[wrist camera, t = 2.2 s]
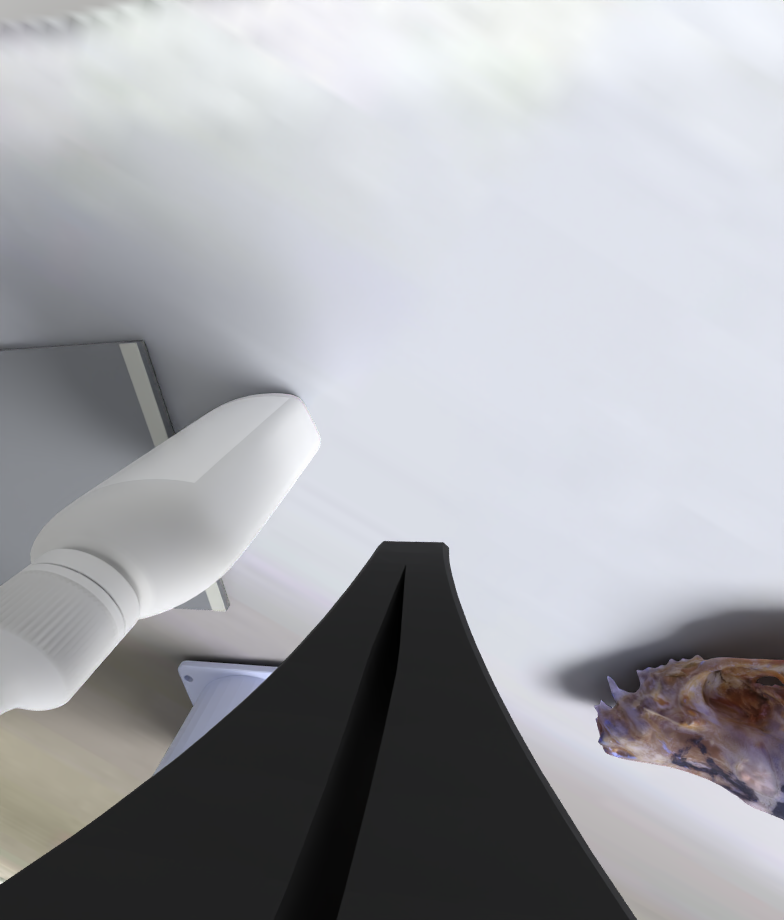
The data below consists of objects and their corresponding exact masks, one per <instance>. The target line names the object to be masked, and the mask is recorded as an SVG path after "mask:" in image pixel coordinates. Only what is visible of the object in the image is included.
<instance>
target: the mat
mask: <svg viewBox="0 0 784 920" xmlns="http://www.w3.org/2000/svg"><path fill="white" fill-rule="evenodd" d="M173 435H174V432H173V429H172V426H171V423H170V419H169V416H168V413H167V410H166V407H165V404H164V401H163V398H162V395H161V392H160V389H159V386H158V383H157V380H156V377H155V373H154V370H153V367H152V364H151V361H150V358H149V355H148V352H147V349H146V346H145V343H144V341H129V342H114V343H98V344H83V345H68V346H53V347H38V348H23V349H8V350H0V586H1V585H3V584H4V583H5V582H7V581H8V580H9V579H11V578H12V577H13V576H15V575H16V574H18V573H19V572H20V571H22V570H23V569H24V568H26V567H27V566H28V565H30V564H31V556H30V553H31V549H32V546H33V543H34V541H35V539H36V538H37V536H38V534H39V533H40V531H41V530H42V529H43V527H44V526H45V525H46V524H47V523H48V522H49V521H50V520H51V519H52V518H53V517H54V516H55V515H56V514H57V513H59V512H60V511H61V510H62V509H64V508H65V507H67V506H68V505H69V504H71V503H72V502H74V501H75V500H76V499H78V498H79V497H81V496H82V495H84V494H85V493H87V492H88V491H90V490H91V489H93V488H94V487H96V486H97V485H99V484H100V483H102V482H103V481H105V480H107V479H108V478H110V477H111V476H113V475H114V474H116V473H117V472H119V471H120V470H122V469H123V468H125V467H126V466H128V465H129V464H131V463H132V462H134V461H135V460H137V459H138V458H140V457H141V456H143V455H145V454H146V453H148V452H149V451H151V450H152V449H154V448H155V447H157V446H158V445H160V444H161V443H163V442H164V441H166V440H167V439H169V438H170V437H172V436H173ZM229 606H230V604H229V601H228V597H227V594H226V591H225V588H224V585H223V582H222V579H221V578H220V579H218V580H217V581H216V582H215V583H214V584H212V585H211V586H210V587H209V588H207V589H206V590H204V591H203V592H201V593H200V594H198V595H197V596H195V597H194V598H192V599H190V600H188V601H187V602H185V603H183V604H181V605H179V606H177V607H174V608H176V609H196V610H212V611H223V612H226V610H227V609H228V607H229Z"/></svg>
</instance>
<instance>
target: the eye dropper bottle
mask: <svg viewBox="0 0 784 920" xmlns="http://www.w3.org/2000/svg"><path fill="white" fill-rule="evenodd" d="M320 445H321V438H320V434H319V432H318V430H317V427H316V425H315V423H314V421H313V419H312V417H311V415H310V413H309V411H308V409H307V407H306V406H305V404H304V403H303V401H302V400H301V399H300V398H299V397H296V396H294V395H291V394H282V393H266V394H256V395H250V396H245V397H242V398H238V399H235V400H232V401H230V402H227V403H225V404H223V405H221V406H219V407H217V408H215V409H214V410H212V411H210V412H209V413H207V414H205V415H204V416H202V417H201V418H199V419H198V420H196V421H195V422H193V423H192V424H190V425H189V426H187V427H186V428H184V429H183V430H181V431H180V432H178V433H176V434H175V435H173V436H172V437H170V438H169V439H167V440H166V441H164V442H163V443H161V444H160V445H158V446H157V447H155V448H154V449H152V450H151V451H149V452H148V453H146V454H145V455H143V456H141V457H140V458H138V459H137V460H135V461H134V462H132V463H131V464H129V465H128V466H126V467H125V468H123V469H122V470H120V471H119V472H117V473H116V474H114V475H113V476H111V477H110V478H108V479H107V480H105V481H103V482H102V483H100V484H99V485H97V486H96V487H94V488H93V489H91V490H90V491H88V492H87V493H85V494H84V495H82V496H81V497H79V498H78V499H76V500H75V501H74V502H72V503H71V504H69V505H68V506H67V507H65V508H64V509H62V510H61V511H60V512H59V513H57V514H56V515H55V516H54V517H53V518H52V519H51V520H50V521H49V522H48V523H47V524H46V525H45V526H44V527H43V529H42V530H41V531H40V533H39V534H38V536H37V538H36V539H35V541H34V543H33V546H32V549H31V553H30V556H31V564H30V565H28V566H27V567H26V568H24V569H23V570H22V571H20V572H19V573H18V574H16V575H15V576H13V577H12V578H11V579H9V580H8V581H7V582H5V583H4V584H3V585H1V586H0V715H2V714H3V713H4V712H7V711H9V710H12V709H14V708H21V709H27V710H35V711H42V710H50V709H54V708H57V707H60V706H63V704H66V703H67V702H68V701H69V700H70V699H71V698H72V697H73V695H74V694H75V693H76V692H77V691H78V690H79V688H80V687H81V686H82V685H83V684H84V683H85V682H86V680H87V679H88V678H89V677H90V676H91V675H92V673H93V672H94V671H95V670H96V669H97V668H98V667H99V665H100V664H101V663H102V662H103V661H104V660H105V658H106V657H107V656H108V655H109V654H110V653H111V652H112V650H113V649H114V648H115V647H116V646H117V645H118V643H119V642H120V641H121V640H122V639H123V638H124V637H125V635H126V634H127V633H128V632H129V631H130V630H131V628H132V627H133V626H134V625H135V624H136V622H137V621H138V620H139V619H144V618H147V617H151V616H154V615H157V614H160V613H162V612H165V611H168V610H170V609H172V608H174V607H177V606H179V605H181V604H183V603H185V602H187V601H188V600H190V599H192V598H194V597H195V596H197V595H198V594H200V593H201V592H203V591H204V590H206V589H207V588H209V587H210V586H211V585H212V584H214V583H215V582H216V581H217V580H218V579H220V578H221V577H222V576H223V575H224V574H225V573H226V572H227V571H228V570H229V569H230V568H231V567H232V566H233V565H234V564H235V562H236V561H237V560H238V559H239V558H240V557H241V556H242V554H243V553H244V552H245V550H246V549H247V548H248V546H249V545H250V544H251V542H252V541H253V540H254V539H255V537H256V536H257V535H258V533H259V532H260V531H261V529H262V528H263V526H264V525H265V524H266V522H267V521H268V520H269V518H270V517H271V515H272V514H273V513H274V511H275V510H276V508H277V507H278V506H279V504H280V503H281V502H282V500H283V499H284V497H285V496H286V495H287V493H288V492H289V490H290V489H291V488H292V486H293V485H294V483H295V482H296V481H297V479H298V478H299V476H300V475H301V474H302V472H303V471H304V469H305V468H306V467H307V465H308V464H309V462H310V461H311V460H312V458H313V457H314V455H315V454H316V452H317V451H318V449H319V447H320Z"/></svg>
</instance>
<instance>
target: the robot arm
mask: <svg viewBox="0 0 784 920" xmlns="http://www.w3.org/2000/svg"><path fill="white" fill-rule="evenodd" d="M178 672H179V674H180V677H181V679H182V681H183V684H184V686H185V688H186V691H187V693H188V695H189V698H190V700H191V702H192V705H193V707H192V709H191V711H190V713H189V714H188V716H187V718H186V719H185V721H184V723H183V724H182V726H181V728H180V730H179V731H178V733H177V735H176V736H175V738H174V740H173V742H172V743H171V745H170V747H169V748H168V750H167V752H166V753H165V755H164V757H163V759H162V760H161V762H160V764H159V765H158V767H157V769H156V771H155V772H154V774H153V776H152V777H151V778H150V779H148V780H147V781H146V782H144V783H143V784H142V785H140V786H139V787H138V788H136V789H135V790H134V791H132V792H131V793H130V794H129V795H127V796H126V797H125V798H123V799H122V800H121V801H119V802H118V803H117V804H115V805H114V806H113V807H111V808H110V809H109V810H108V811H106V812H105V813H103V814H102V815H101V816H99V817H98V818H97V819H95V820H94V821H92V822H91V823H90V824H88V825H87V826H86V827H84V828H83V829H81V830H80V831H79V832H77V833H76V834H74V835H73V836H72V837H70V838H69V839H67V840H66V841H64V842H63V843H61V844H60V845H58V846H57V847H55V848H54V849H52V850H51V851H49V852H48V853H46V854H45V855H43V856H42V857H41V858H39V859H38V860H36V861H35V862H33V863H32V864H30V865H29V866H27V867H26V868H24V869H23V870H21V871H20V872H18V873H17V874H15V875H14V876H12V877H11V878H9V879H8V880H6V881H5V882H3V883H2V884H0V920H637V919H636V917H635V916H634V914H633V913H632V911H631V910H630V908H629V907H628V905H627V904H626V902H625V901H624V899H623V898H622V896H621V895H620V893H619V892H618V890H617V889H616V888H615V886H614V885H613V883H612V882H611V880H610V879H609V877H608V876H607V874H606V873H605V871H604V870H603V868H602V867H601V865H600V864H599V862H598V861H597V859H596V858H595V856H594V855H593V853H592V852H591V850H590V848H589V847H588V845H587V844H586V842H585V840H584V839H583V837H582V836H581V834H580V832H579V831H578V829H577V828H576V826H575V824H574V823H573V821H572V820H571V818H570V816H569V815H568V813H567V811H566V810H565V808H564V807H563V805H562V803H561V802H560V800H559V799H558V797H557V795H556V794H555V792H554V791H553V789H552V787H551V786H550V784H549V783H548V781H547V779H546V778H545V776H544V775H543V773H542V771H541V770H540V768H539V766H538V765H537V763H536V761H535V759H534V757H533V756H532V754H531V752H530V750H529V749H528V747H527V745H526V743H525V742H524V740H523V738H522V736H521V734H520V733H519V731H518V729H517V727H516V725H515V724H514V722H513V720H512V718H511V716H510V714H509V712H508V710H507V708H506V706H505V705H504V703H503V701H502V699H501V697H500V695H499V693H498V691H497V689H496V687H495V685H494V683H493V681H492V679H491V676H490V674H489V672H488V670H487V668H486V666H485V663H484V661H483V659H482V657H481V654H480V652H479V650H478V648H477V646H476V643H475V641H474V638H473V636H472V633H471V631H470V628H469V626H468V623H467V620H466V617H465V615H464V612H463V609H462V607H461V604H460V601H459V598H458V595H457V592H456V588H455V584H454V581H453V577H452V573H451V568H450V562H449V547H448V546H447V545H445V544H444V543H443V542H394V541H383V542H382V543H381V544H380V545H379V546H378V548H377V549H376V550H375V552H374V553H373V555H372V556H371V558H370V559H369V560H368V562H367V563H366V565H365V566H364V567H363V569H362V570H361V571H360V573H359V574H358V575H357V577H356V578H355V579H354V581H353V582H352V583H351V585H350V586H349V587H348V589H347V590H346V591H345V592H344V593H343V595H342V596H341V597H340V598H339V600H338V601H337V602H336V603H335V605H334V606H333V607H332V608H331V610H330V611H329V612H328V613H327V614H326V616H325V617H324V618H323V619H322V620H321V621H320V622H319V624H318V625H317V626H316V627H315V628H314V629H313V630H312V631H311V632H310V634H309V635H308V636H307V637H306V638H305V639H304V640H303V641H302V642H301V644H300V645H299V646H298V647H297V648H296V649H295V650H294V651H293V652H292V653H291V654H290V655H289V657H288V658H287V659H286V660H285V661H284V662H283V663H282V664H281V665H280V666H279V667H271V666H257V665H243V664H229V663H215V662H202V661H188V660H187V661H183V662H181V664H180V665H179V667H178Z"/></svg>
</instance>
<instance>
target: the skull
mask: <svg viewBox="0 0 784 920" xmlns="http://www.w3.org/2000/svg"><path fill="white" fill-rule="evenodd" d="M637 674H638V677H639V680H640V688H639V689H638V690H637V691H636V692H635V693H631V692H626V691H624V690H621V689H619V688H618V687H617V685H616V683H615V681H614V680H613V679H612V678H611V677H609V676H607V679H608V683H609V686H610V689H611V692H612V695H613V697H614V699H615V701H616V706H615V707H614V708H612V707H611V706H610V707H609V706H608V705H606V704H605V703H604V702H603V701H602V700H601V701H600V704H599V705H595V706H594V707H595V709H596V710H597V712H598V717H597V718H596V722H597V726H598V730H599V733H600V738H599V741H598V742H599V743H600V744H601V745H602V746H603V749H604V751H605V752H606V753H607V754H609V755H612V756H616V757H619V758H622V759H626V760H631V761H637V762H644V763H651V764H656V765H662V766H668V767H673V768H676V769H679V770H683V771H686V772H689V773H692V774H695V775H698V776H700V777H703V778H706V779H708V780H710V781H712V782H714V783H716V784H718V785H720V786H722V787H724V788H725V789H727V790H728V791H730V792H731V793H733V794H735V795H736V796H738V797H739V798H740V799H742V800H743V801H744V802H745V803H746V804H748V805H750V806H752V807H754V808H756V809H758V810H761V811H764V812H766V813H769V814H771V815H774V816H776V817H778V818H781V819H783V820H784V686H779V685H773V686H769V685H766V686H764V685H762V684H760V683H757V681H758V679H760V678H763V677H767V676H773V677H776V678H778V679H779V680H780V681H781V682H782V684H783V685H784V660H770V659H743V658H729V657H717V658H711V659H708V660H704V659H703V658H702V657H701V656H699V655H695V656H694V657H693V658H692V659H684V658H682V659H681V660H680V661H675V660H674V659H670V660H669V662H668V664H667V665H661V666H659V667H657V668H651V667H648V668H646V669H645V670H637Z"/></svg>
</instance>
